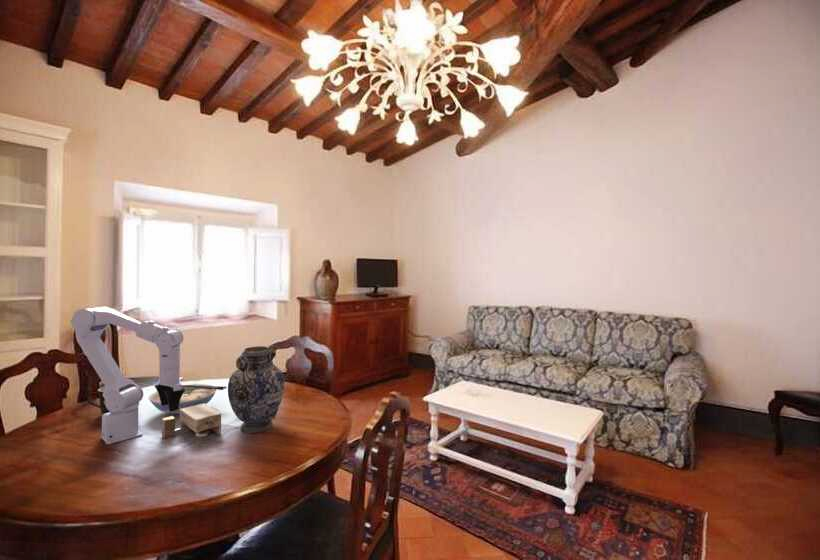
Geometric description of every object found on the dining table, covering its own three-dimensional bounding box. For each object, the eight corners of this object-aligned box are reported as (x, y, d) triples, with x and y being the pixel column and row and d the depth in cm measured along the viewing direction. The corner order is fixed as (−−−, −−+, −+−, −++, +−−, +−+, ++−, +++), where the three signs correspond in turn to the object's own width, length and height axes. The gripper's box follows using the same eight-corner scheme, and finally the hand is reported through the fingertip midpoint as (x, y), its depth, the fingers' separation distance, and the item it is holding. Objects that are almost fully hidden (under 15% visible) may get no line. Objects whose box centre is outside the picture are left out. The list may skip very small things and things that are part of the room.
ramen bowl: (130, 419, 139) (130, 397, 139) (178, 399, 161) (178, 380, 161) (190, 425, 134) (190, 403, 134) (231, 403, 157) (231, 384, 157)
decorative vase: (263, 442, 122) (263, 355, 122) (212, 437, 126) (212, 353, 126) (296, 418, 143) (295, 343, 143) (251, 414, 147) (251, 341, 147)
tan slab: (196, 442, 122) (196, 420, 122) (179, 429, 132) (179, 409, 131) (222, 434, 128) (222, 413, 128) (204, 422, 138) (204, 403, 137)
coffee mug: (132, 410, 148) (132, 385, 147) (113, 419, 139) (113, 392, 139) (105, 409, 149) (105, 383, 149) (84, 417, 140) (84, 390, 140)
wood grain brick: (164, 439, 124) (164, 420, 124) (161, 436, 126) (161, 418, 125) (205, 427, 133) (205, 410, 133) (202, 425, 135) (202, 408, 135)
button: (198, 439, 125) (198, 435, 125) (193, 435, 127) (193, 432, 127) (210, 435, 128) (210, 431, 128) (206, 431, 130) (206, 428, 130)
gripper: (191, 368, 124) (191, 409, 124) (175, 361, 133) (175, 399, 134) (166, 372, 119) (166, 415, 119) (151, 364, 128) (151, 404, 128)
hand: (169, 407), depth 126 cm, fingers open, 7 cm apart
